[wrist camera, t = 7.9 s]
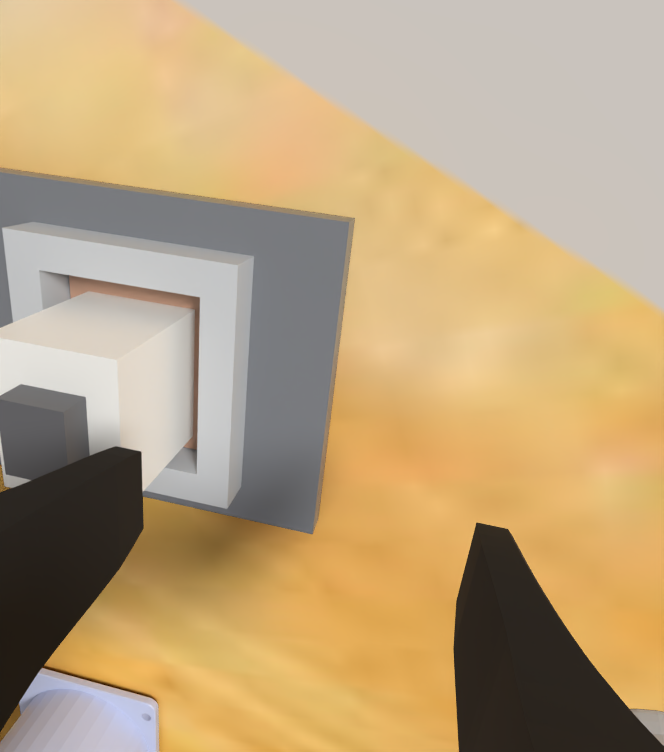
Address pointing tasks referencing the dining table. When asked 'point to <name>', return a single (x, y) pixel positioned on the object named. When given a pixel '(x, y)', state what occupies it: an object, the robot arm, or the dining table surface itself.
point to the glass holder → (652, 722)
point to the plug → (95, 384)
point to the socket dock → (204, 322)
